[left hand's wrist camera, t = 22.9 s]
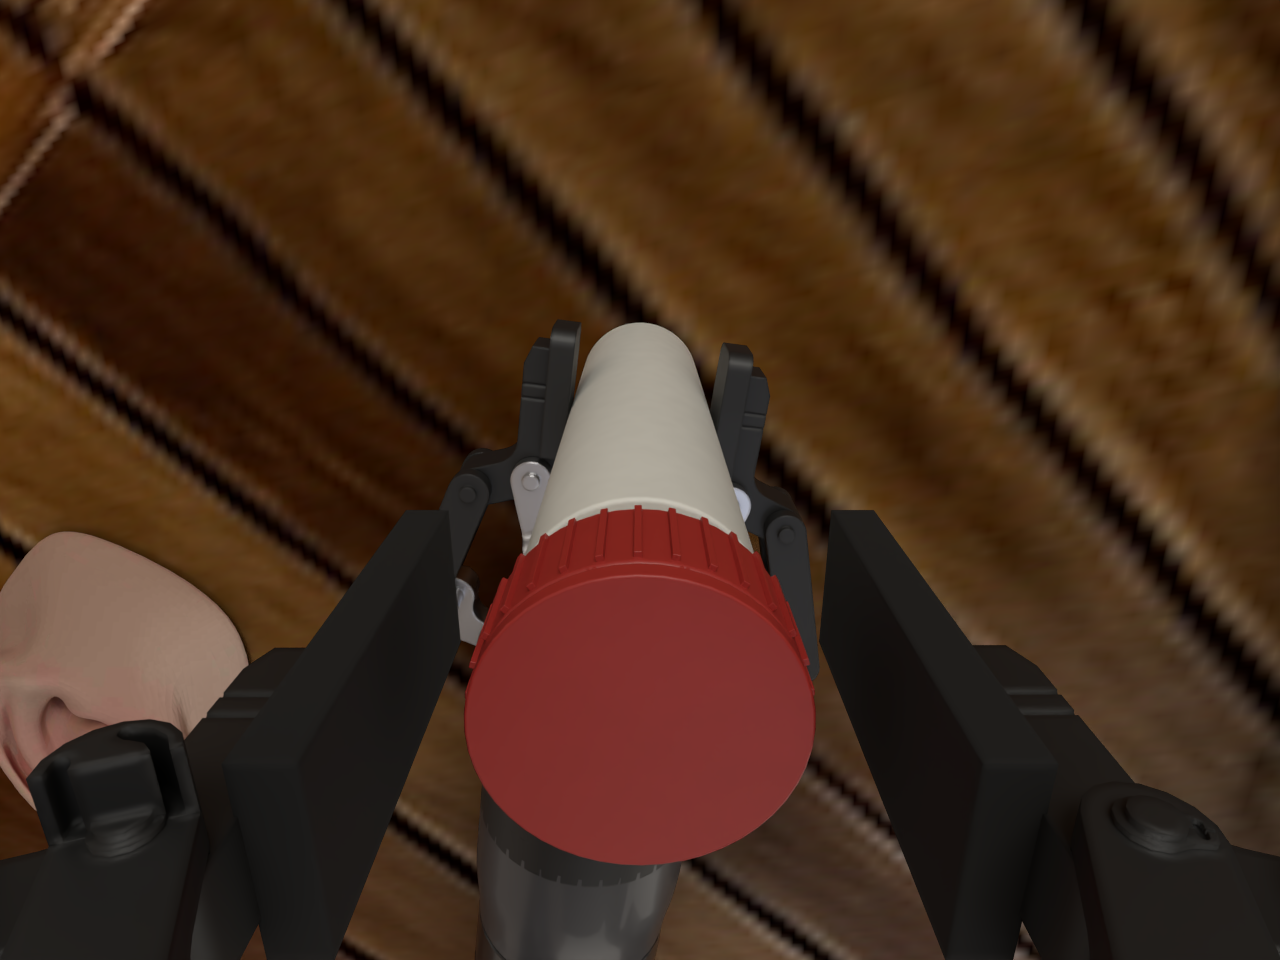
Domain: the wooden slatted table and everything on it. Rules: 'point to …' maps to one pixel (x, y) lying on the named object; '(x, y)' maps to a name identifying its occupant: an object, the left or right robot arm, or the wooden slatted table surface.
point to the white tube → (639, 438)
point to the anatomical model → (103, 648)
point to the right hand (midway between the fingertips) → (651, 339)
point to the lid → (639, 690)
